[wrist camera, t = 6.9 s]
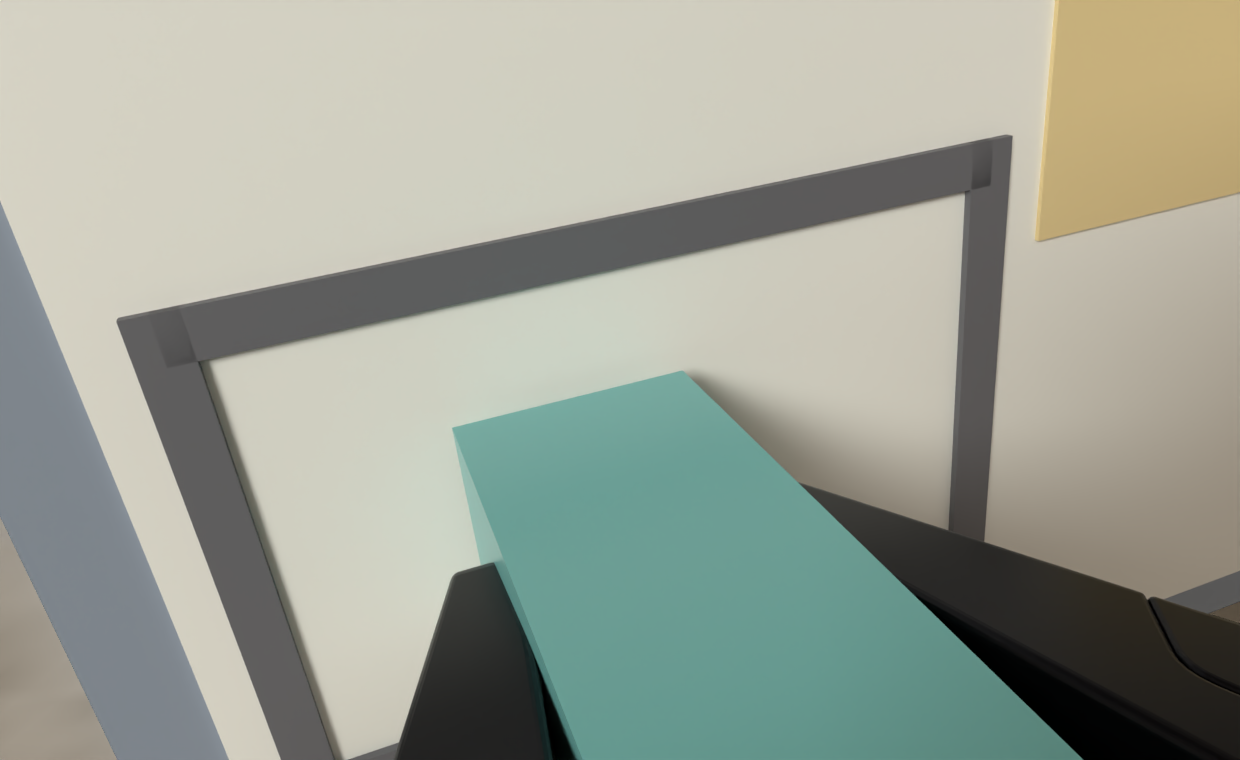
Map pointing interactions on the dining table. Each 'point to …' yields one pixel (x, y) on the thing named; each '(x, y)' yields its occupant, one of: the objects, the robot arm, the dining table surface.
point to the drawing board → (583, 302)
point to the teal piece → (713, 597)
